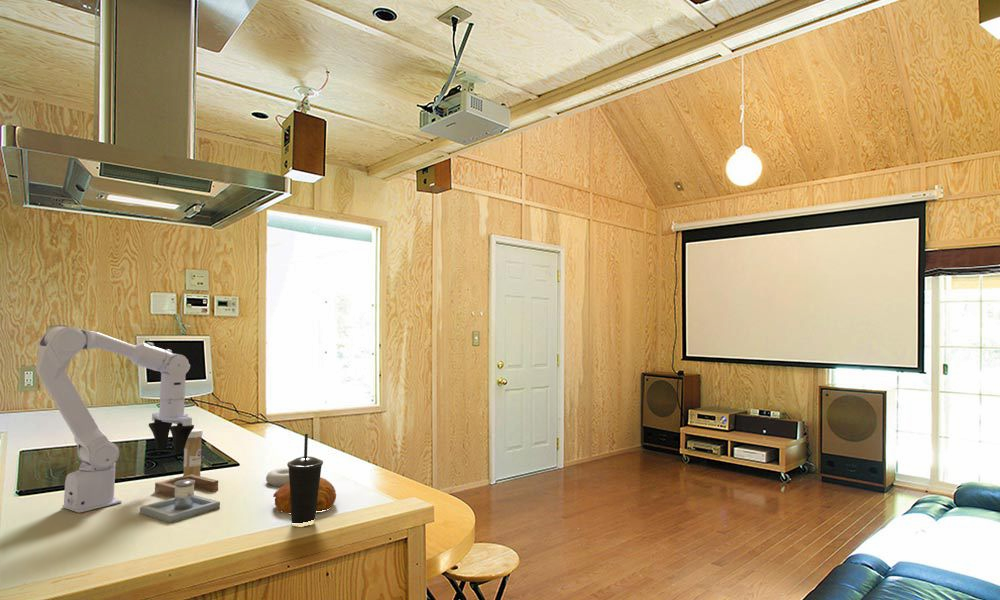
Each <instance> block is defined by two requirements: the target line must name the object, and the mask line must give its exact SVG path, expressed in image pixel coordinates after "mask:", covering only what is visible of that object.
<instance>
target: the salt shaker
mask: <svg viewBox="0 0 1000 600" xmlns="http://www.w3.org/2000/svg"><path fill="white" fill-rule="evenodd" d="M194 483H195V480H192V479H185V480H179V481H176V482H175V483H174V485H175V499H174V509H175V510H187V509H190V508H192V507H193V500H194V495H195V487H194Z"/></svg>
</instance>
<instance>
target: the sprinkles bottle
mask: <svg viewBox="0 0 1000 600" xmlns="http://www.w3.org/2000/svg"><path fill="white" fill-rule="evenodd" d="M202 438H203V429H200V428H193V430H192V431H191V433H190V435H189V437H188V439H187V442H186V445H185V448H184V451H183V475H182V476H187V475H191V474H193V475H197V476H201V475H202V474H201V464H202Z"/></svg>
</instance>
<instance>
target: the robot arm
mask: <svg viewBox="0 0 1000 600" xmlns="http://www.w3.org/2000/svg"><path fill="white" fill-rule="evenodd" d="M91 349H100V350H103V351H106V352H111V353H114V354H118V355H120V356H121V355H122V356H125V357H128V358H129V360H130V362H131V363H132V364H133V365H135V366H138V367H142V368H145V369H149V370H152V371H154V372H155V371H156V372H160V390H159V391H160V393H159V396H160V397H159V412H154V413H153V412H152V413H151V421H153V422H149V423H148V427H149V429H150V431H151V433H152V434H153V437H154V442H155V445H156V450H163V449H167V447H168V443H169V442H168V441H169V434H171V436H172V442H173V448H172V449H173V452H174V454H179V453H184V448H185V445H186V442H187V439H188V437H189V435H190V433H191V431H192V430H193V429H195V428H194V427H195V424H193V417H191V416H188V415H189V414H188V413H185V403H186V402H185V398H186V397H185V395H186V374H187V373H188V372H189V370H190V369H191V364H190V363H189V359H188V358H187V357H186V356H185V355H184V354H179V353H173V351H172V349H169V348H166V349H163V348H160V347H157V346H155V344H154V342H149V341H147V342H140V343H137V344H135V345H134V344H131V343H130V342H129V343H128V342H126V341H123V340H121V339H117V338H114V337H112V336H109V335H106V334H103V333H101V332H97V331H94V330H93V331H92V330H87V329H80V328H78V327H74V326H63V325H62V326H61V325H57V326H53V327H50V328H49V329H48V330H47V331H45V332H44V334H43V335H42V337H41V338H40V340H39V341H38V351H37V352H38V354H37V357H36V365H35V372H36V375H37V377H38V378H39V380H40V382H41V383H42V385H43V387H44V388H45V390H46V392H47V393H48V394H49V396H50V398H51V400H52V401H53V403H54V405H55V407H56V409H57V410H58V412H59V413H60V414H61V416H62V418H63V420H64V421H65V423H66V425H67V426H68V428H69V430H70V431H71V433H72V434H73V437H74V439H73V440H74V442H75V443H76V446H77V456H78V458H79V460H81V463H80V465H79V467H78V468H79V469H77V470H76V471H73V472H70V473H68V474H67V475H66V477H65V481H64V494H63V495H64V497H63V498H64V499H63V505H61V507H62V508H63V509H67V510H69V511H72V512H76V513H85V512H88V511H93V510H96V509H102V508H105V507H107V506H112V505H117V504H120V503H122V502H123V501H122V499H119V498H114V497H115V485H116V484H115V480H116V462H117V461H118V460H119V457H120V449H119V446H118V445H116V444H115V443H114V442H111V441H110V440H109V438H108V437H107V436H106V434H105V433H104V432H103V431H102V430H101V429H100V427H99V426H98V424H97V423H96V422H95V419H94V418H93V416H92V414H91V412H90V411H89V409H88V408H87V405H86V404H85V403H84V401H83V399H82V397H81V396H80V394H79V392H78V389H76V386H75V385H74V384H73V382H72V379H71V378H70V376H69V375H68V373H67V371H66V370H67V368H68V366H69V364H70V363H71V361H72V359H73V358H74V357H75V356H77V355H78V353H80V352H81V351H82V350H91ZM173 424H175V425H173ZM170 432H171V433H170Z"/></svg>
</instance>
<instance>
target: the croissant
mask: <svg viewBox="0 0 1000 600" xmlns="http://www.w3.org/2000/svg"><path fill="white" fill-rule="evenodd" d="M336 491H337V490H336V488H335V487H334V485H333V484H332V483H331V482H330V481H329V480H327V479H326V478H324V477H321V476H320V482H319V490H318V498H317V506H316V511H322V510H327V509H329V508H330V509H331V508H332V507H333V505H334V504H335V502H336V499H337V494H336ZM273 498H274V505H275V508H277V510H278V511H280V512H281V511H282V512H281V513H283V512H285V513H284V514H287V513H291V501H290V483H286V484H284V485H283V486H280V487H279V488H278V490H276V491H275V492H274V493H273ZM330 509H329V510H330Z"/></svg>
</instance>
